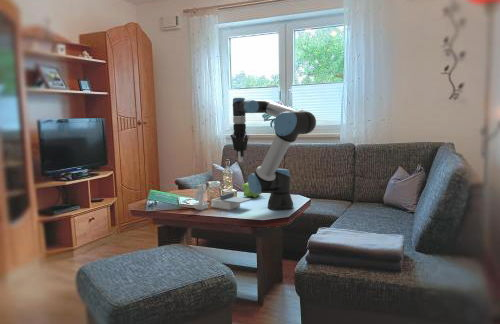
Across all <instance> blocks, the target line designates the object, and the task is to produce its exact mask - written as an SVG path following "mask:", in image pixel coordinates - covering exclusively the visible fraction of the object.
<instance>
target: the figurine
mask: <svg viewBox="0 0 500 324" xmlns="http://www.w3.org/2000/svg"><path fill="white" fill-rule="evenodd" d="M205 194H207V185H206V184H198V185H197V191H195V193H194V199H195V201H196V202H195V203H193V204H192V206H193V207H194V209H195V210H199V211H204V210H206V209H208V207H209V205H210V202H205V201H204V195H205Z"/></svg>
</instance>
